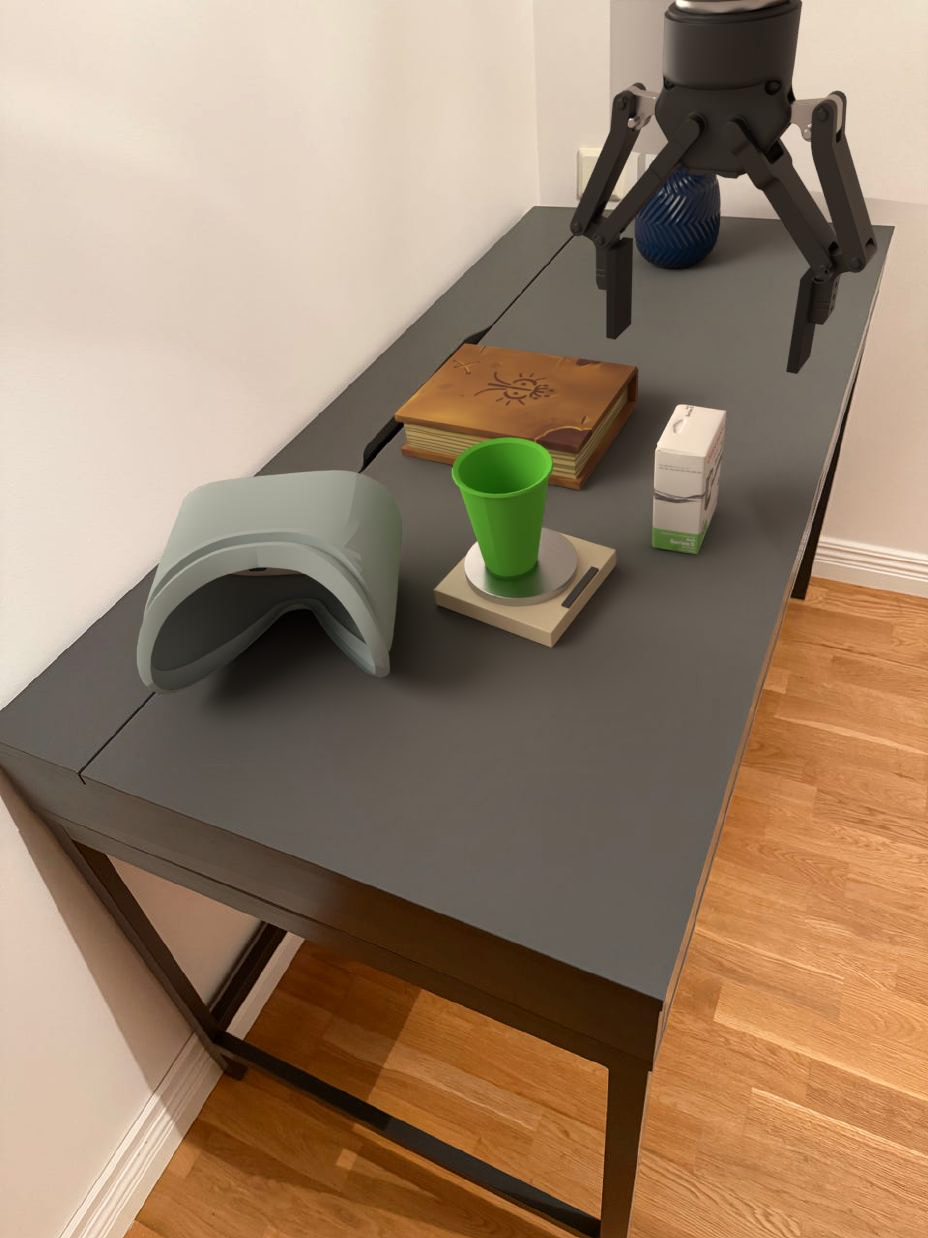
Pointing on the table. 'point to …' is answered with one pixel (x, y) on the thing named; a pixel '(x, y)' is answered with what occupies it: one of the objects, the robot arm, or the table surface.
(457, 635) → the table surface
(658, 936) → the table surface
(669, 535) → the ink box
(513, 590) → the scale pan
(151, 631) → the grey arched shell
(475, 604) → the scale
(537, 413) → the diary
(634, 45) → the lamp
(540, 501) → the cup
